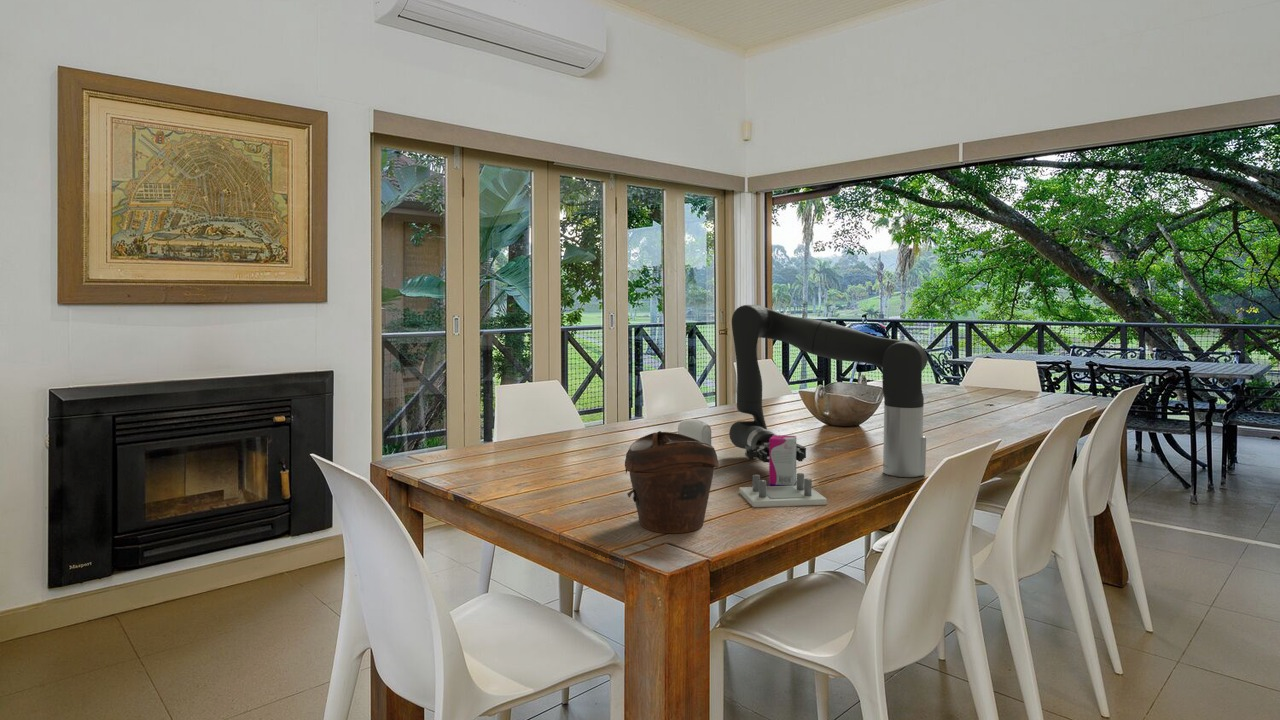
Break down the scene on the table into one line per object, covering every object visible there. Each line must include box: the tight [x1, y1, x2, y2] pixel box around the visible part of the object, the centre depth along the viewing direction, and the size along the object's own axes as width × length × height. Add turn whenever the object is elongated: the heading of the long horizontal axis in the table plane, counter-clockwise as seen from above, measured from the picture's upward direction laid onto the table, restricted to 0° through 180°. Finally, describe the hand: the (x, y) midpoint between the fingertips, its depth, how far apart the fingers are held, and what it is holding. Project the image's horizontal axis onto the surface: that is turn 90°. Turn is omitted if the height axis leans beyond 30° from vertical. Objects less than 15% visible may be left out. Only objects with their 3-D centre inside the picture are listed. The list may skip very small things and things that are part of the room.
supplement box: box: [768, 434, 797, 486], centre depth 171 cm, size 6×6×12 cm
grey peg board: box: [739, 472, 828, 508], centre depth 159 cm, size 16×12×5 cm
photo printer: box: [677, 418, 712, 446], centre depth 192 cm, size 10×4×12 cm, turn 39°
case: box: [624, 430, 720, 534], centre depth 141 cm, size 18×20×18 cm
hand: (783, 457), depth 170 cm, fingers open, 8 cm apart
